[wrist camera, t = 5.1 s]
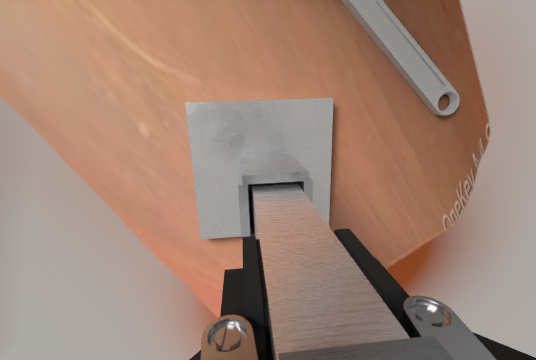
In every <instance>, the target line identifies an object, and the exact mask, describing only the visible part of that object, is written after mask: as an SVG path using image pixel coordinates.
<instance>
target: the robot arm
mask: <svg viewBox="0 0 536 360" xmlns="http://www.w3.org/2000/svg"><path fill="white" fill-rule="evenodd" d="M334 234H335V235H336V237H337V238H338V240H339V241H340V242H341V244H342V245H343V246H344V248H345V249H346V251H347V252H348V253H349V255H350V256H351V257H352V259H353V260H354V262H355V263H356V264H357V266H358V267H359V268H360V270H361V271H362V272H363V274H364V275H365V277H366V278H367V279H368V281H369V282H370V283H371V285H372V286H373V288H374V289H375V290H376V292H377V293H378V294H379V296H380V297H381V299H382V300H383V301H384V303H385V304H386V305H387V307H388V308H389V309H390V311H391V312H392V314H393V315H394V316H395V318H396V319H397V320H398V322H399V323H400V325H401V326H402V327H403V329H404V330H405V331H406V333H407V334H408V336H409V337H410V338H416V337H425V336H433V335H434V336H435V337H436V339H437V340H438V341H439V342H440V343H441V344H442V346H443V347H444V348H445V349H446V350H447V352H448V353H449V354H450V355H451V356H452V358H453V359H454V360H536V358H535V357H532V356H530V355H527V354H525V353H522V352H520V351H517V350H515V349H512V348H510V347H508V346H505V345H503V344H500V343H497V342H495V341H493V340H490V339H488V338H485V337H483V336H480V335H478V334H476V333H473V332H471V331H470V330H469V328H468V327H467V326H465V324H464V323H463V322H462V321H461V319H460V318H459V317H458V316H457V315H456V314H455V313H454V312H453V311H452V310H451V309H450V308H449V307H448V306H446V305H445V304H443V303H441V302H440V301H437V300H435V299H433V298H429V297H425V296H412V297H410V296H409V295H408V294H407V293H406V292H405V291H404V289H403V288H402V287H401V286H400V285H399V284H398V283H397V282H396V280H395V279H394V278H393V277H392V276H391V275H390V274H389V272H388V271H387V270H386V269H385V268H384V267H383V266H382V265H381V263H380V262H379V261H378V260H377V259H376V258H374V257H373V256H372V255H371V253H370V252H369V251H368V250H367V249H366V248H365V247H364V245H363V244H362V243H361V242H360V241H359V240H358V239H357V237H356V236H355V235H354V234H353V233H352V232H351V231H350V229H338V230H335V232H334ZM190 360H271V358H270V332H269V308H268V297H267V289H266V282H265V275H264V268H263V261H262V253H261V246H260V239H256V237H255V236H247V237H243V268H241V269H229V270H225V274H224V284H223V294H222V305H221V315H220V317H219V318H217V319H215V320H213V321H212V322H211V323H210V324H209V325H208V326H207V327H206V329H205V330H204V332H203V335H202V342H201V350H200V351H199V352H198V353H197V354H196V355H194V356H193V357H192V358H191V359H190Z"/></svg>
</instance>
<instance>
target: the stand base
mask: <svg viewBox="0 0 536 360" xmlns="http://www.w3.org/2000/svg"><path fill="white" fill-rule="evenodd" d="M185 105H186V113H187V122H188V131H189V140H190V148H191V157H192V166H193V175H194V184H195V192H196V201H197V210H198V219H199V228H200V236H201V239H214V238H227V237H240V236H241V237H247V236H255V230H254V221H253V211H252V199H251V184H264V183H280V182H297V183H298V185H299V186H300V187H301V189H302V190H303V192H304V193H305V194H306V196H307V197H308V198H309V200H310V201H311V203H312V204H313V205H314V207H315V208H316V209H317V211H318V212H319V214H320V215H321V216H322V218H323V219H324V220H325V222H326V223H327V224H328V226H329V212H330V183H331V154H332V125H333V98H315V99H283V100H252V101H221V102H190V103H185Z"/></svg>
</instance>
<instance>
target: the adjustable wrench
mask: <svg viewBox="0 0 536 360" xmlns="http://www.w3.org/2000/svg"><path fill="white" fill-rule="evenodd" d="M341 2H342V3H343V4H344V5H345V6H346V8H347V9H348V10H349V11H350V13H351V14H352V15H353V16H354V17H355V19H356V20H357V21H358V22H359V24H360V25H361V26H362V27H363V28H364V30H365V31H366V32H367V33H368V35H369V36H370V37H371V38H372V40H373V41H374V42H375V43H376V44H377V46H378V47H379V48H380V49H381V51H382V52H383V53H384V54H385V55H386V57H387V58H388V59H389V60H390V62H391V63H392V64H393V65H394V66H395V68H396V69H397V70H398V71H399V73H400V74H401V75H402V76H403V77H404V79H405V80H406V81H407V82H408V84H409V85H410V86H411V87H412V89H413V90H414V91H415V92H416V93H417V95H418V96H419V97H420V98H421V100H422V101H423V102H424V103H425V104H426V106H427V107H428V108H429V109H430V111H431V112H432V113H434V114H435V115H450V114H452V113H453V112H455V111H456V109H457V108H458V106H459V102H460V98H459V95H458V93H457V91H456V90H455V89H454V88H453V87H452V85H451V84H450V83H449V82H448V80H447V79H446V78H445V77H444V75H443V74H442V73H441V72H440V71H439V69H438V68H437V67H436V66H435V64H434V63H433V62H432V61H431V59H430V58H429V57H428V56H427V55H426V53H425V52H424V51H423V50H422V48H421V47H420V46H419V45H418V43H417V42H416V41H415V40H414V39H413V37H412V36H411V35H410V34H409V32H408V31H407V30H406V29H405V27H404V26H403V25H402V24H401V23H400V21H399V20H398V19H397V18H396V16H395V15H394V14H393V13H392V11H391V10H390V9H389V8H388V7H387V5H386V4H385V3H384V2H383V0H341ZM442 95H447V96H448V97H449V105H448V107H447V108H446V109H445V110H443V111H440V110H439V108H438V101H439V99H440V97H441V96H442Z"/></svg>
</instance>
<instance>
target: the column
mask: <svg viewBox="0 0 536 360" xmlns="http://www.w3.org/2000/svg"><path fill="white" fill-rule="evenodd" d="M251 199H252V211H253V221H254V230H255V237H256V239H260V246H261V253H262V261H263V268H264V275H265V282H266V289H267V297H268V308H269V332H270V358H271V360H454V359H453V358H452V356H451V355H450V354H449V353H448V352H447V350H446V349H445V348H444V347H443V346H442V344H441V343H440V342H439V341H438V340H437V339H436V337H435V336H434V335H433V336H425V337H416V338H410V337H409V336H408V334H407V333H406V331H405V330H404V329H403V327H402V326H401V325H400V323H399V322H398V320H397V319H396V318H395V316H394V315H393V314H392V312H391V311H390V309H389V308H388V307H387V305H386V304H385V303H384V301H383V300H382V299H381V297H380V296H379V294H378V293H377V292H376V290H375V289H374V288H373V286H372V285H371V283H370V282H369V281H368V279H367V278H366V277H365V275H364V274H363V272H362V271H361V270H360V268H359V267H358V266H357V264H356V263H355V262H354V260H353V259H352V257H351V256H350V255H349V253H348V252H347V251H346V249H345V248H344V246H343V245H342V244H341V242H340V241H339V240H338V238H337V237H336V235H335V234H334V233H333V231H332V230H331V229H330V227H329V226H328V224H327V223H326V222H325V220H324V219H323V218H322V216H321V215H320V214H319V212H318V211H317V209H316V208H315V207H314V205H313V204H312V203H311V201H310V200H309V198H308V197H307V196H306V194H305V193H304V192H303V190H302V189H301V187H300V186H299V185H298V183H297V182H280V183H264V184H251Z"/></svg>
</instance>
